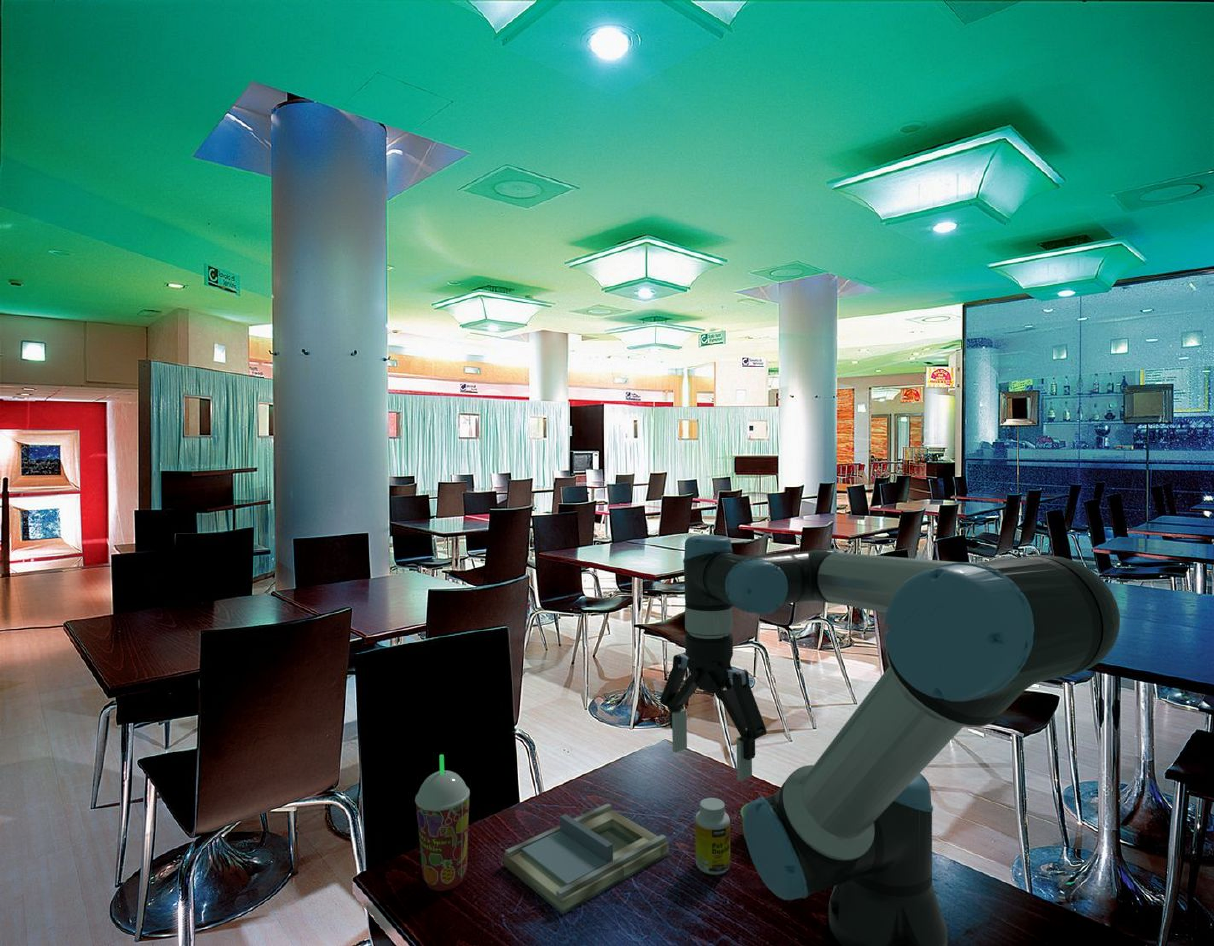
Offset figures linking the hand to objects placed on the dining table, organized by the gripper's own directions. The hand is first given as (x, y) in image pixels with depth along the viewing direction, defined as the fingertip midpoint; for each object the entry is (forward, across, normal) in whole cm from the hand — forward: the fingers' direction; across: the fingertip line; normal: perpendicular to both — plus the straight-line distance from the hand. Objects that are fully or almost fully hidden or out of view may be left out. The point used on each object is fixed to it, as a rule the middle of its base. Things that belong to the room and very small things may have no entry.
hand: (710, 763), depth 110 cm
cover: (+15, +15, +18) cm, 28 cm away
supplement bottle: (+17, 0, 0) cm, 17 cm away
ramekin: (+17, -1, -13) cm, 21 cm away
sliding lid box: (+17, +15, +14) cm, 26 cm away
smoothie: (+17, +26, +34) cm, 46 cm away
